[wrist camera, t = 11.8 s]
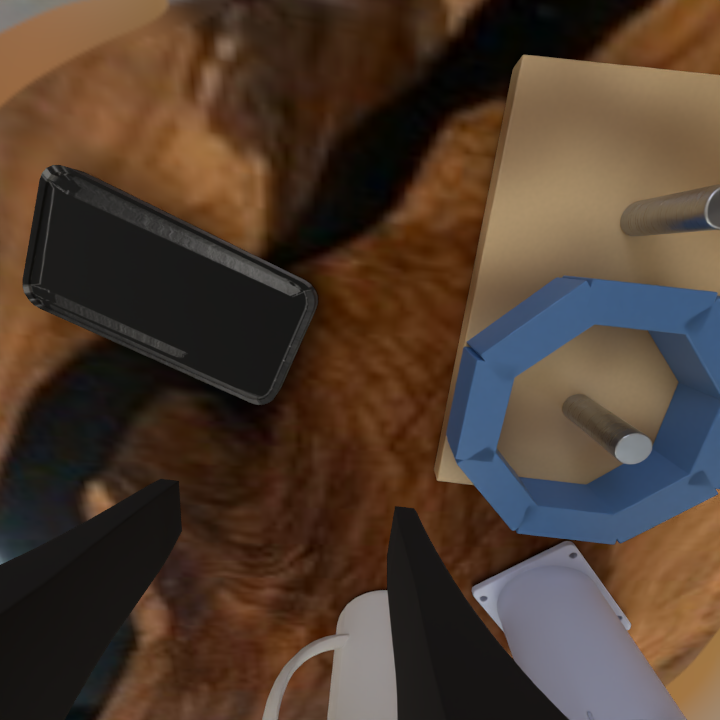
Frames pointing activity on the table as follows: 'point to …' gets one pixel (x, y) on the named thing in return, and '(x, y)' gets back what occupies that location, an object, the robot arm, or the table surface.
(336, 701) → the mug
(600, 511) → the ring
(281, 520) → the table surface
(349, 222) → the table surface
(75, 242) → the phone
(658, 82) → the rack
